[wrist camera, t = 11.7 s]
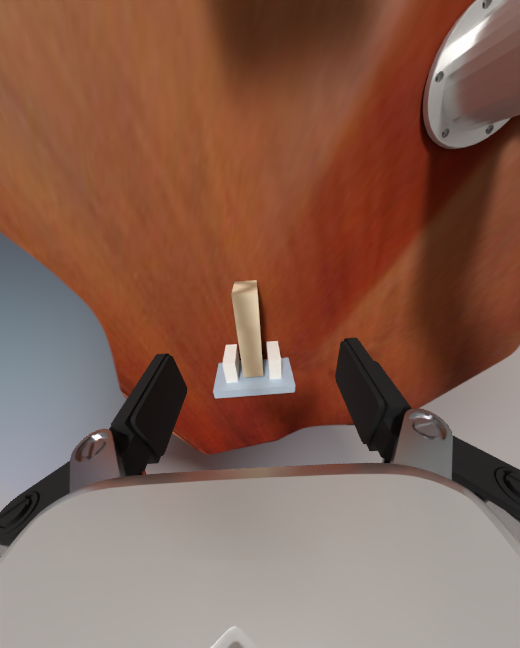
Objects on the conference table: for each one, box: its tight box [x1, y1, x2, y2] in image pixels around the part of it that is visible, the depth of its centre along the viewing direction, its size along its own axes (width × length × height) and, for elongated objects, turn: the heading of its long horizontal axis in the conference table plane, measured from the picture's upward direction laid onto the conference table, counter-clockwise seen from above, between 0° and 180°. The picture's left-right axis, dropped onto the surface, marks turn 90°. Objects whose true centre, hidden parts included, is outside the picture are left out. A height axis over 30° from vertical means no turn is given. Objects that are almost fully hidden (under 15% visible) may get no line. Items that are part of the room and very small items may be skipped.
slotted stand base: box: [213, 341, 295, 398], centre depth 40 cm, size 7×16×8 cm, turn 94°
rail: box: [232, 280, 264, 377], centre depth 37 cm, size 4×18×6 cm, turn 3°
